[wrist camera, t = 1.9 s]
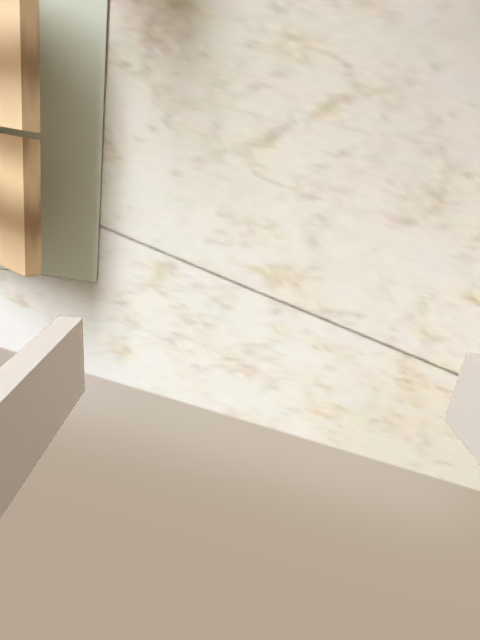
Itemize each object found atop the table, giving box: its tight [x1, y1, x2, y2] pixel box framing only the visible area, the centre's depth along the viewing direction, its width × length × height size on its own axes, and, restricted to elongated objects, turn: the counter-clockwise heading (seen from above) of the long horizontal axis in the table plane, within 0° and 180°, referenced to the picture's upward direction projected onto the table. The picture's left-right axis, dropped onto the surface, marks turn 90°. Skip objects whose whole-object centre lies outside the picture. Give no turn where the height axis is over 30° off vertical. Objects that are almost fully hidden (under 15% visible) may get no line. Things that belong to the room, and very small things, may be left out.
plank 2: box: [0, 133, 41, 277], centre depth 35 cm, size 10×9×1 cm
